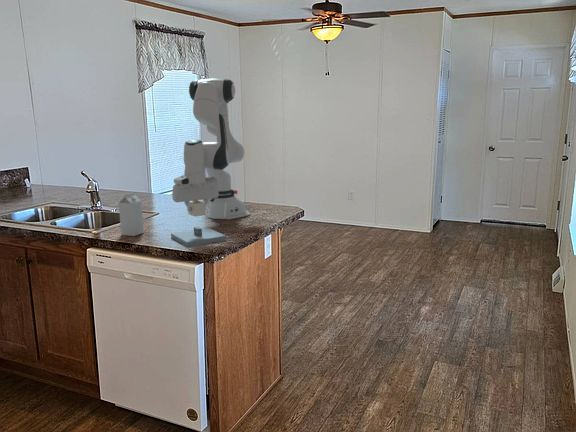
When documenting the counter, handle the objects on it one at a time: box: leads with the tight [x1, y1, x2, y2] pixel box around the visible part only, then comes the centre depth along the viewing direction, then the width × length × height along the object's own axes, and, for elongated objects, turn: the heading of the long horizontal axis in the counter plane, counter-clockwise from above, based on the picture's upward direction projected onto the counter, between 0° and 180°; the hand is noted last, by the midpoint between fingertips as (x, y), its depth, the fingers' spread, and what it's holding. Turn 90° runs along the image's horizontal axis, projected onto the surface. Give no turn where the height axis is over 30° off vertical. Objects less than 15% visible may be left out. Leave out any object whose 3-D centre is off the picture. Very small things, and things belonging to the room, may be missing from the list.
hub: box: [170, 226, 227, 248], centre depth 222 cm, size 18×18×5 cm
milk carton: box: [118, 191, 145, 237], centre depth 231 cm, size 7×7×19 cm
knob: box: [187, 200, 206, 217], centre depth 220 cm, size 5×7×6 cm
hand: (196, 210), depth 220 cm, fingers closed on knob, 5 cm apart
